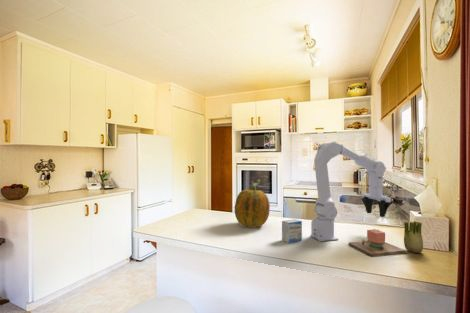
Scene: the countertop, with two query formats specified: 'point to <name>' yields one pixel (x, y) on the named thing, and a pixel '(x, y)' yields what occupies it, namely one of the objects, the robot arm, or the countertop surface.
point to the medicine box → (292, 230)
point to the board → (372, 251)
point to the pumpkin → (252, 207)
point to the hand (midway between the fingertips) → (375, 214)
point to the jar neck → (375, 245)
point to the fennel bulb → (413, 237)
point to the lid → (376, 236)
